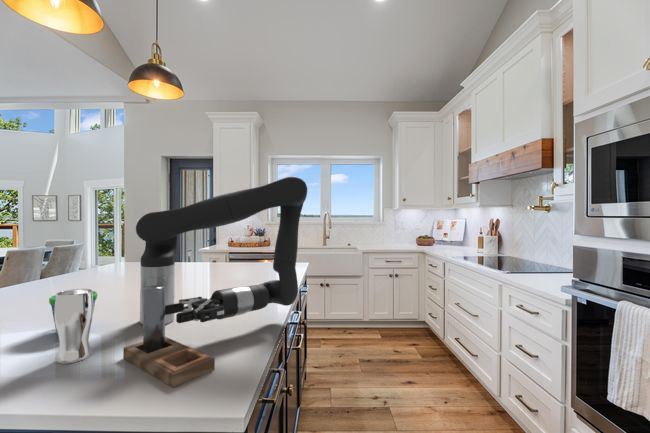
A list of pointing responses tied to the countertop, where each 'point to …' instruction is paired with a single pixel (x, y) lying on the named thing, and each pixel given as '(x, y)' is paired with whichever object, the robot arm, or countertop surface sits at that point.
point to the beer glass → (73, 324)
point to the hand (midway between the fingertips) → (170, 314)
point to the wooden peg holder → (170, 362)
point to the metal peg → (154, 318)
